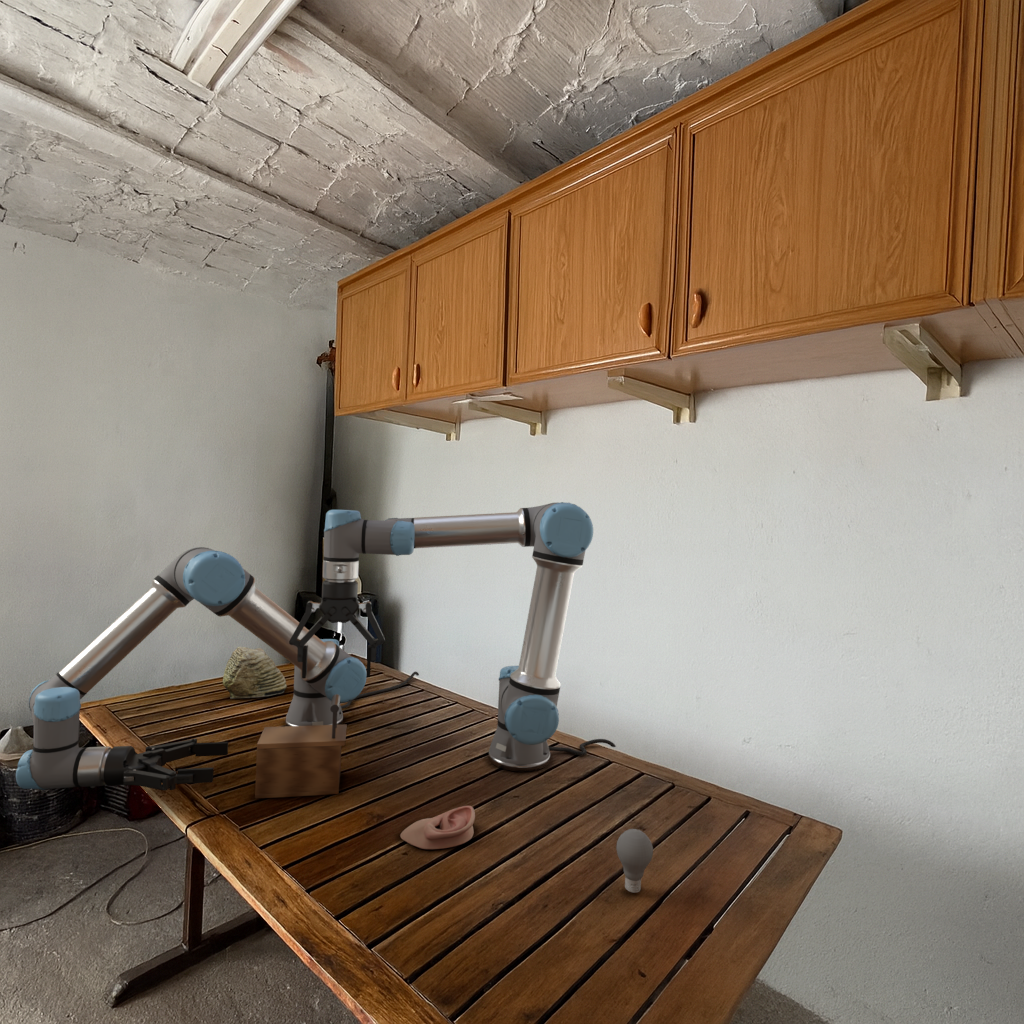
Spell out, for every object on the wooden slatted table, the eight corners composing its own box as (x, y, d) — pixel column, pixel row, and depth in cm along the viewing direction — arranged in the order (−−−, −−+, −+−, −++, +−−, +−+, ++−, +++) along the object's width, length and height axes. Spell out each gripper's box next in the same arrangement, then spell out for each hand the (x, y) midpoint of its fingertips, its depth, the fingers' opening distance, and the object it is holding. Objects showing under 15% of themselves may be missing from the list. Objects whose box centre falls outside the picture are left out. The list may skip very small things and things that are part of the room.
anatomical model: (394, 823, 116) (416, 795, 127) (393, 844, 116) (415, 814, 128) (464, 834, 114) (480, 804, 125) (463, 855, 114) (479, 824, 125)
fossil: (218, 695, 195) (220, 647, 195) (278, 685, 208) (279, 640, 207) (228, 703, 189) (230, 653, 188) (289, 692, 201) (290, 645, 201)
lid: (346, 728, 145) (348, 692, 145) (344, 745, 135) (346, 706, 135) (264, 731, 141) (265, 694, 141) (256, 749, 131) (258, 708, 131)
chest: (340, 774, 145) (342, 729, 145) (338, 794, 135) (340, 745, 135) (262, 778, 141) (264, 732, 141) (254, 798, 132) (256, 749, 131)
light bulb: (610, 879, 108) (613, 822, 108) (644, 879, 109) (647, 822, 109) (619, 902, 102) (622, 840, 102) (655, 901, 103) (658, 840, 103)
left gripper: (131, 759, 142) (232, 754, 147) (81, 814, 118) (205, 806, 122) (132, 726, 142) (233, 722, 146) (82, 774, 117) (206, 768, 122)
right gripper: (278, 581, 133) (274, 682, 133) (398, 583, 138) (394, 679, 138) (282, 576, 140) (279, 672, 140) (397, 578, 145) (393, 670, 146)
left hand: (220, 761), depth 134 cm, fingers open, 13 cm apart
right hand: (336, 676), depth 139 cm, fingers open, 13 cm apart
